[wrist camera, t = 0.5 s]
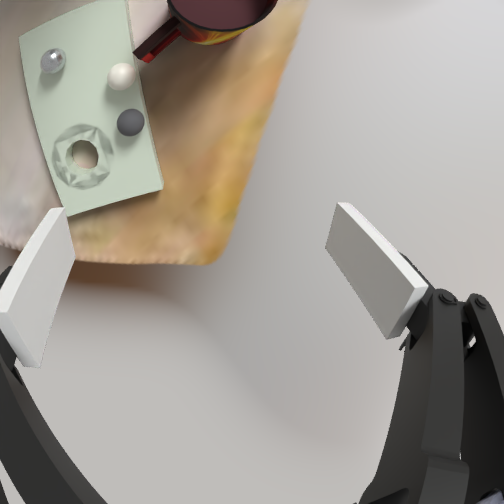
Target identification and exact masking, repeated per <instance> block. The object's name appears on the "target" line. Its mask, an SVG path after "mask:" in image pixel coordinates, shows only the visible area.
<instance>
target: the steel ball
mask: <svg viewBox="0 0 504 504" xmlns="http://www.w3.org/2000/svg"><path fill="white" fill-rule="evenodd" d="M65 62H66V54H65V52H64V51H63V50H62V49H60V48H52V49H49V50H48V51H46V52H45V53H44V54H43V56H42V58H41V60H40V68H41V70H42V71H43V72H44V73H46V74H54V73H57V72H58V71H60V70H61V69H62V68H63V66H64V64H65Z"/></svg>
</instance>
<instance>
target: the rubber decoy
mask: <svg viewBox="0 0 504 504" xmlns="http://www.w3.org/2000/svg"><path fill="white" fill-rule="evenodd" d="M144 124H145V119H144V116H143V114H142V113H141V112H140V111H139V110H137V109H127V110H125V111H123V112H122V113H121V114H120V115H119V117H118V119H117V128H118V130H119V132H120V133H121V134H122V135H124V136H135V135H137V134H138V133H140V132H141V130H142V129H143V127H144Z"/></svg>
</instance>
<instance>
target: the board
mask: <svg viewBox="0 0 504 504" xmlns="http://www.w3.org/2000/svg"><path fill="white" fill-rule="evenodd" d="M19 44H20V52H21V59H22V65H23V71H24V76H25V82H26V87H27V91H28V96H29V100H30V105H31V109H32V113H33V117H34V121H35V125H36V128H37V132H38V135H39V139H40V142H41V146H42V149H43V152H44V155H45V158H46V161H47V164H48V167H49V170H50V173H51V176H52V179H53V182H54V184H55V187H56V190H57V192H58V195H59V198H60V200H61V203H62V205H63V207H65V211H66V215H67V217H68V216H71V215H74V214H77V213H80V212H84V211H87V210H90V209H93V208H97V207H100V206H103V205H107V204H110V203H114V202H117V201H121V200H124V199H128V198H131V197H135V196H139V195H143V194H146V193H150V192H154V191H158V190H162V189H163V185H164V181H163V177H162V173H161V169H160V165H159V161H158V157H157V153H156V149H155V145H154V141H153V136H152V132H151V128H150V123H149V119H148V114H147V109H146V105H145V100H144V95H143V90H142V85H141V80H140V75H139V70H138V64H137V59H136V56H135V55H134V54H133V53H132V52H133V51H134V50H135V47H134V41H133V35H132V29H131V22H130V15H129V8H128V1H127V0H97V1H94V2H92V3H89V4H86V5H84V6H81V7H79V8H76V9H74V10H72V11H69V12H67V13H65V14H62V15H60V16H58V17H56V18H54V19H52V20H50V21H48V22H46V23H44V24H42V25H40V26H38V27H36V28H34V29H32V30H30V31H28V32H27V33H25V34H23V35H21V36H19ZM52 48H60V49H62V50H63V51H64V52H65V54H66V62H65V64H64V66H63V68H62V69H61V70H60V71H58V72H57V73H54V74H46V73H44V72H43V71H42V70H41V68H40V60H41V58H42V56H43V54H44V53H45V52H46V51H48V50H49V49H52ZM119 63H127V64H130V65H131V66H132V67H133V68H134V70H135V73H136V76H135V80H134V82H133V84H132V85H131V86H130V87H129V88H127V89H125V90H114V89H112V88H111V87H110V86H109V85H108V82H107V74H108V72H109V70H110V69H111V68H112V67H113V66H114V65H116V64H119ZM127 109H137V110H139V111H140V112H141V113H142V114H143V116H144V119H145V124H144V127H143V129H142V130H141V132H140V133H138V134H137V135H135V136H124V135H122V134H121V133H120V132H119V130H118V128H117V119H118V117H119V115H120V114H121V113H122V112H123V111H125V110H127ZM78 140H86V141H90V142H91V143H92V144H93V145H94V146H95V147H96V148H97V152H98V155H99V159H98V163H97V166H96V167H93V168H90V169H86V168H81V167H79V166H78V165H77V164H76V163H75V162H74V160H73V157H72V148H73V144H74V143H75V142H76V141H78Z"/></svg>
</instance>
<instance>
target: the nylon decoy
mask: <svg viewBox="0 0 504 504" xmlns="http://www.w3.org/2000/svg"><path fill="white" fill-rule="evenodd" d="M135 76H136V73H135V70H134V68H133V67H132V66H131V65H130V64H127V63H119V64H116V65H114V66H113V67H112V68H111V69H110V70H109V72H108V74H107V82H108V85H109V86H110V87H111V88H112V89H114V90H125V89H127V88H129V87H130V86H131V85H132V84H133V82H134V80H135Z"/></svg>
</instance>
